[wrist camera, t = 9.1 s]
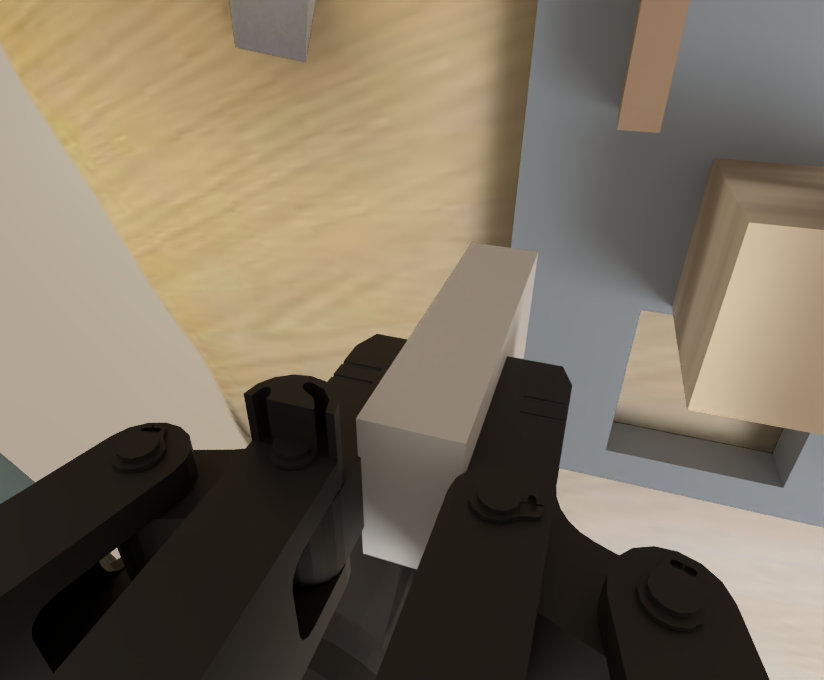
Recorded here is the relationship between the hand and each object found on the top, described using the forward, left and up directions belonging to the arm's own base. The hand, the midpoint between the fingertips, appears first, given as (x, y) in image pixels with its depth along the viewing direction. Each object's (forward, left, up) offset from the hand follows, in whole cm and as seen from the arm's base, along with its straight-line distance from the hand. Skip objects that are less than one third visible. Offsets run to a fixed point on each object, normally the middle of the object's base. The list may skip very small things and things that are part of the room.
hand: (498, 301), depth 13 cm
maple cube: (+7, 0, -7) cm, 10 cm away
